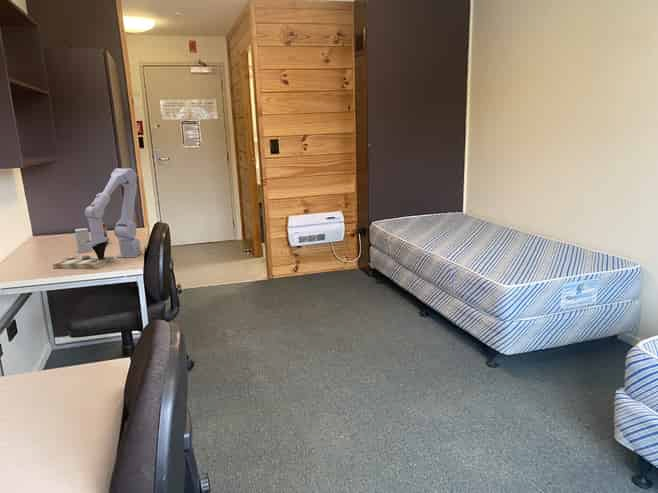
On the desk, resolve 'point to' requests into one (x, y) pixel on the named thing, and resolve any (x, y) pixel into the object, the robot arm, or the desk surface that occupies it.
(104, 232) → the soda can
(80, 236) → the skincare box
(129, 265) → the desk surface
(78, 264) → the button board
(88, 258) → the middle button
